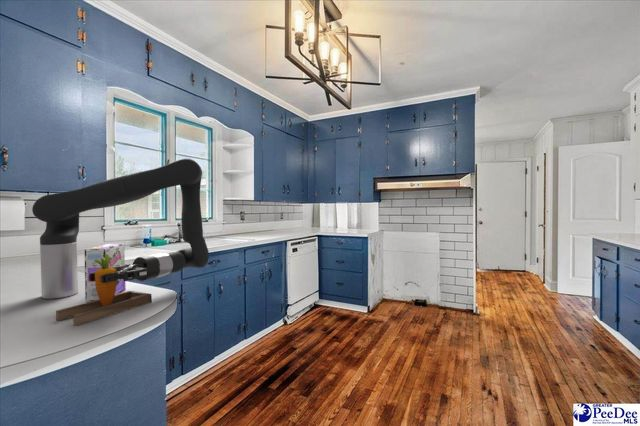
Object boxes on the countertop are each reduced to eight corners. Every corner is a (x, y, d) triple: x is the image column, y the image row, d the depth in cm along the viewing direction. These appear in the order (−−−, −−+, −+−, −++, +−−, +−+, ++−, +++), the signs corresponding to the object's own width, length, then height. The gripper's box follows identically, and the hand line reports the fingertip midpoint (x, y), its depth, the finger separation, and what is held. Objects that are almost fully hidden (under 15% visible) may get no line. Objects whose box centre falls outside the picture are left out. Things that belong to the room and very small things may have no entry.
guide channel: (56, 320, 79) (55, 309, 79) (132, 298, 97) (132, 289, 97) (76, 325, 75) (75, 314, 75) (151, 302, 93) (151, 293, 93)
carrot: (106, 312, 83) (104, 256, 82) (91, 311, 84) (89, 256, 83) (122, 305, 88) (120, 253, 87) (107, 305, 89) (105, 253, 88)
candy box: (105, 301, 95) (104, 248, 94) (84, 302, 94) (83, 248, 93) (126, 289, 108) (125, 242, 108) (108, 290, 107) (106, 243, 107)
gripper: (138, 253, 101) (79, 262, 86) (168, 256, 95) (111, 266, 80) (139, 276, 102) (80, 289, 86) (169, 280, 95) (112, 295, 80)
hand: (95, 278), depth 83 cm, fingers closed on carrot, 4 cm apart
